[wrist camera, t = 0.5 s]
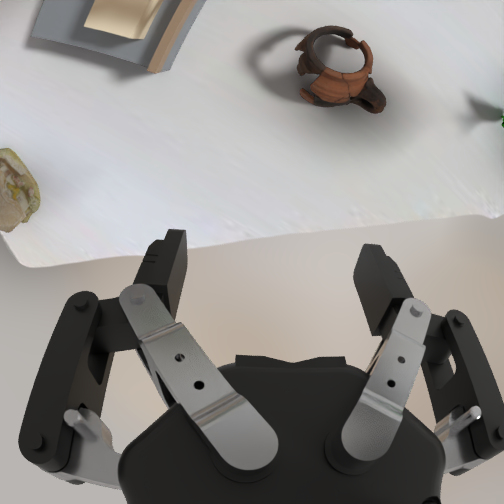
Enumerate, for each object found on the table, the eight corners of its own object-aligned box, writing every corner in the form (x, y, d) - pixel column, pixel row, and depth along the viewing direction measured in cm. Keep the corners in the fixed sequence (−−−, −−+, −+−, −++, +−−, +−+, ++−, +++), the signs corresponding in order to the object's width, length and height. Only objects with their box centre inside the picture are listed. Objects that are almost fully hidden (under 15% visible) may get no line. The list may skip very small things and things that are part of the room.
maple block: (121, -18, 21) (106, -24, 17) (167, -7, 22) (156, -14, 19) (100, 27, 24) (83, 26, 21) (143, 39, 25) (130, 38, 22)
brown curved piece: (274, 89, 33) (281, 57, 25) (310, 40, 33) (323, 6, 24) (358, 141, 34) (385, 123, 26) (387, 89, 33) (415, 65, 25)
